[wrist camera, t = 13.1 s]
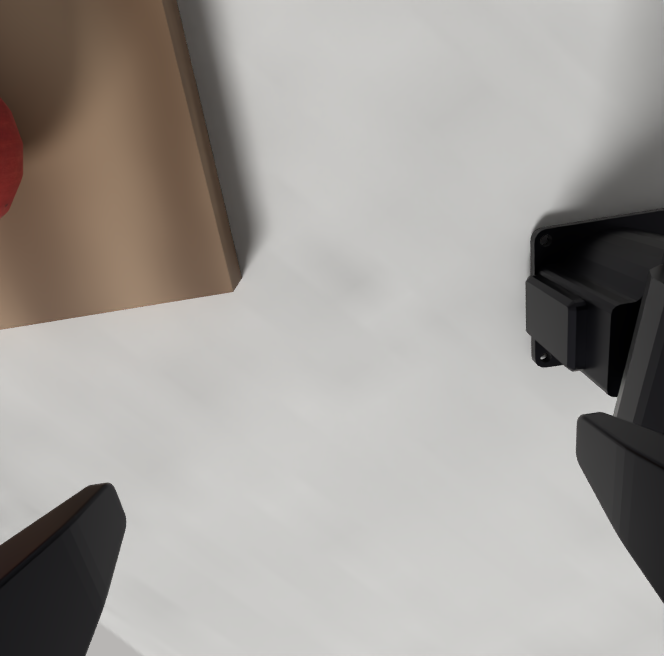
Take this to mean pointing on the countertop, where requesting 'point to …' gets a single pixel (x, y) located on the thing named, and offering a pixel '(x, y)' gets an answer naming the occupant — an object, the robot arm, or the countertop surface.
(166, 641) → the countertop surface
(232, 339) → the countertop surface
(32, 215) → the walnut block
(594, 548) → the countertop surface
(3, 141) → the red round fruit
